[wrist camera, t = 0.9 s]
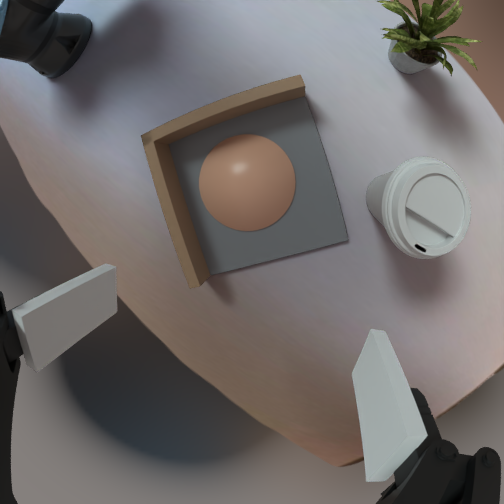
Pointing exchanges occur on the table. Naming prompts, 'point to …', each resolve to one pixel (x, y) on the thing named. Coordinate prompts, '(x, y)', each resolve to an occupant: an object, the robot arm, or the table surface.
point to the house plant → (423, 36)
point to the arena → (244, 181)
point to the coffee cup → (421, 207)
